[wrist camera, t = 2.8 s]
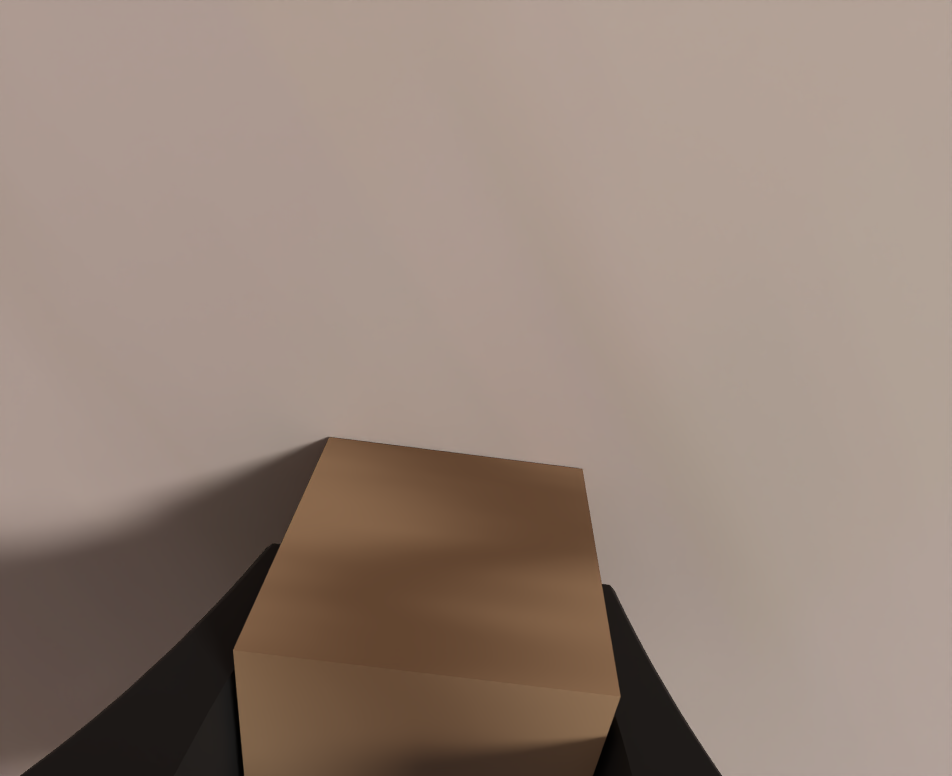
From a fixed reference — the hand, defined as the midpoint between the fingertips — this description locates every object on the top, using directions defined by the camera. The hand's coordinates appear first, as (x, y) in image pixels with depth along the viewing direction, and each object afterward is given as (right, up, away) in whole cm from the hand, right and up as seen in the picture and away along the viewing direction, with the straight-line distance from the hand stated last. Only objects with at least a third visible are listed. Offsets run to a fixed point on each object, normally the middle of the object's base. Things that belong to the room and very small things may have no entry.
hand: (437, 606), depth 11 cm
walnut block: (0, +1, +1) cm, 1 cm away
